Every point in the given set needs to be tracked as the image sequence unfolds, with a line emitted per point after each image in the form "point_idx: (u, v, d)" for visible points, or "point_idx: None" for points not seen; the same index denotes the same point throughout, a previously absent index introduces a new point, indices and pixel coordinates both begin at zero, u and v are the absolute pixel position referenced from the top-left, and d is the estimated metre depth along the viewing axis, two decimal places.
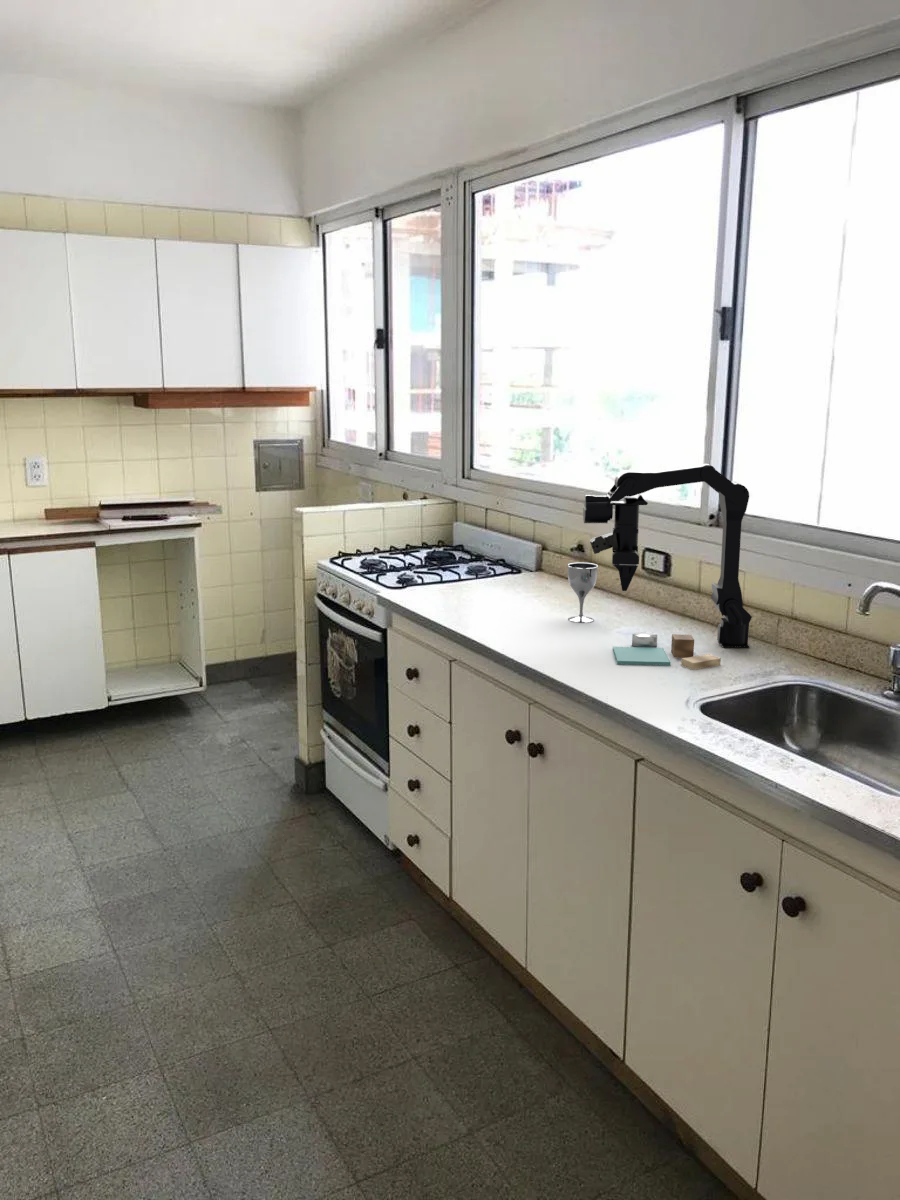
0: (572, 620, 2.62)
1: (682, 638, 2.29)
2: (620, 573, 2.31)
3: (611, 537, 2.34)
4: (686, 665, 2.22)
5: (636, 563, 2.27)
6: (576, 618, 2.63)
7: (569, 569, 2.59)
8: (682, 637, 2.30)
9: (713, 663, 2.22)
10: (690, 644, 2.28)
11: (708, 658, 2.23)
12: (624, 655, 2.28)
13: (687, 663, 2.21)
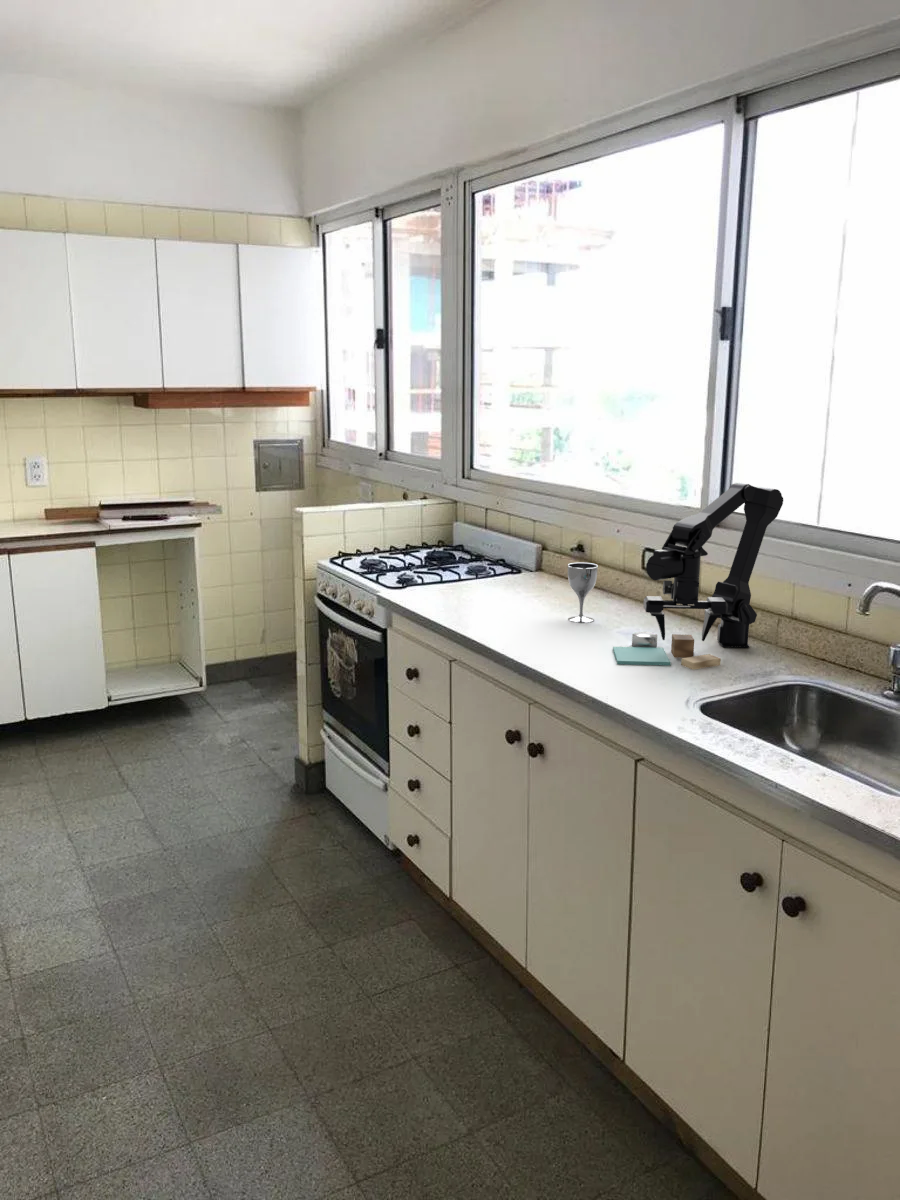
0: (572, 620, 2.62)
1: (682, 638, 2.29)
2: (657, 620, 2.31)
3: (674, 585, 2.31)
4: (686, 665, 2.22)
5: (646, 610, 2.27)
6: (576, 618, 2.63)
7: (569, 569, 2.59)
8: (682, 637, 2.30)
9: (713, 663, 2.22)
10: (690, 644, 2.28)
11: (708, 658, 2.23)
12: (624, 655, 2.28)
13: (687, 663, 2.21)
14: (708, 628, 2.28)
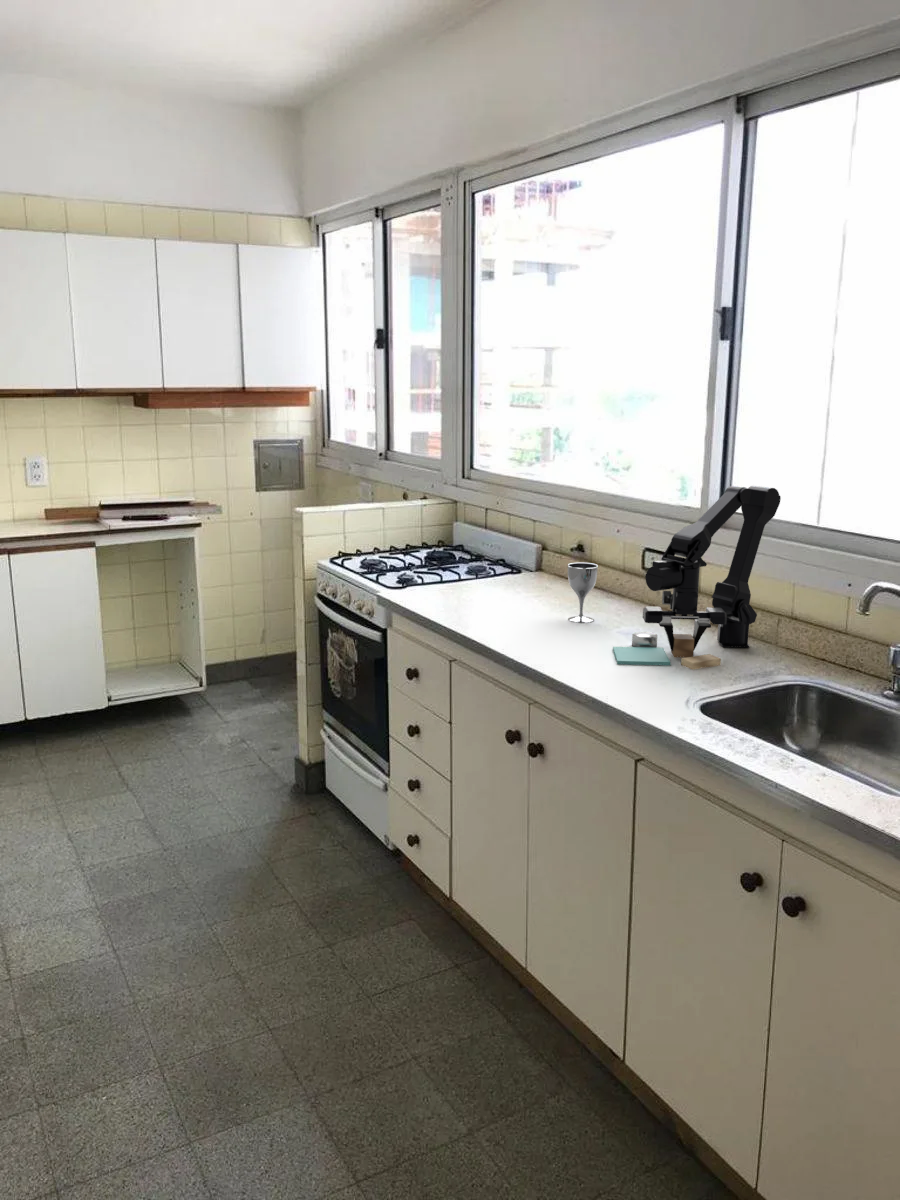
0: (572, 620, 2.62)
1: (682, 637, 2.29)
2: (665, 630, 2.31)
3: (673, 595, 2.32)
4: (686, 665, 2.22)
5: (645, 621, 2.28)
6: (576, 618, 2.63)
7: (569, 569, 2.59)
8: (682, 637, 2.30)
9: (713, 663, 2.22)
10: (690, 643, 2.28)
11: (708, 658, 2.23)
12: (624, 655, 2.28)
13: (687, 663, 2.21)
14: (698, 638, 2.28)
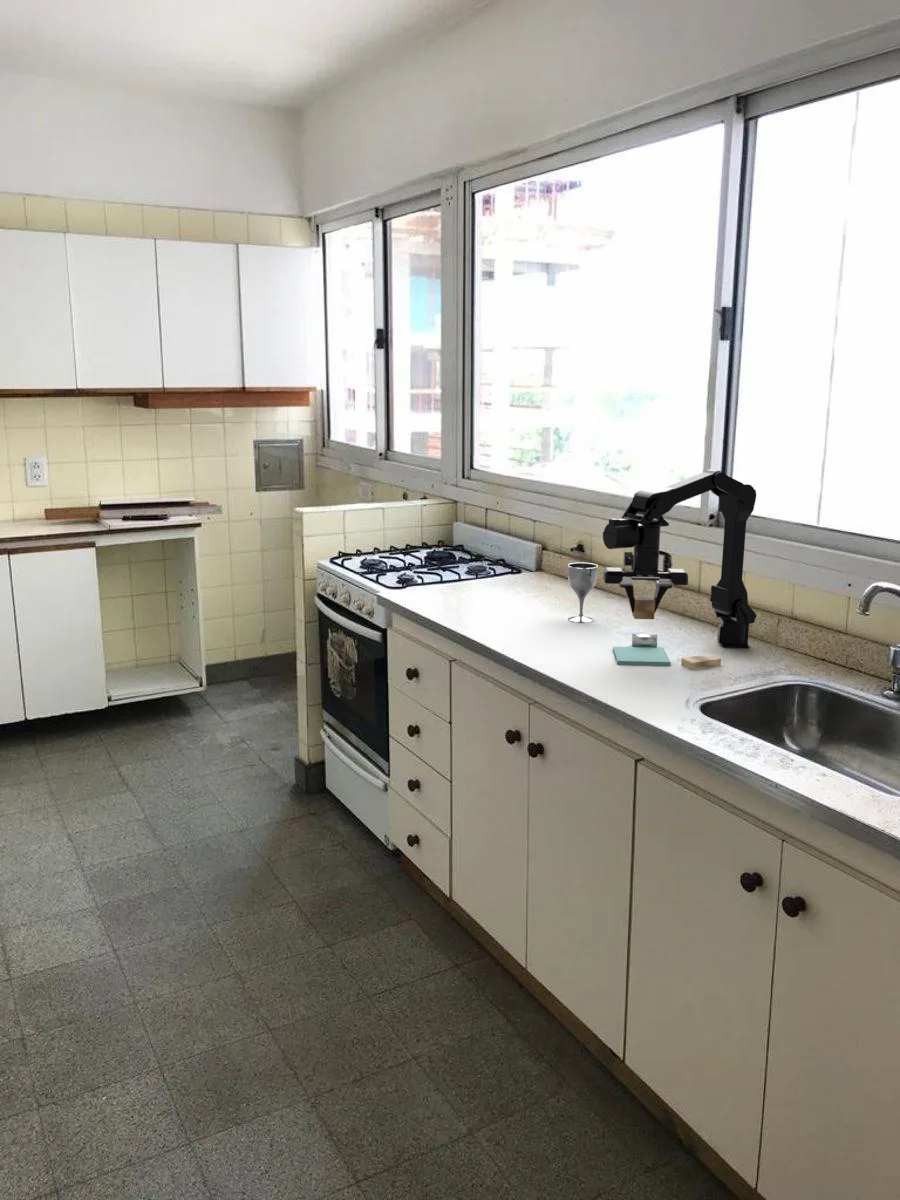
0: (572, 620, 2.62)
1: (643, 598, 2.25)
2: (626, 592, 2.27)
3: None
4: (685, 665, 2.22)
5: (605, 581, 2.23)
6: (576, 618, 2.63)
7: (569, 569, 2.59)
8: (643, 598, 2.25)
9: (713, 663, 2.22)
10: (651, 604, 2.24)
11: (708, 658, 2.23)
12: (624, 655, 2.28)
13: (687, 663, 2.22)
14: (659, 599, 2.24)
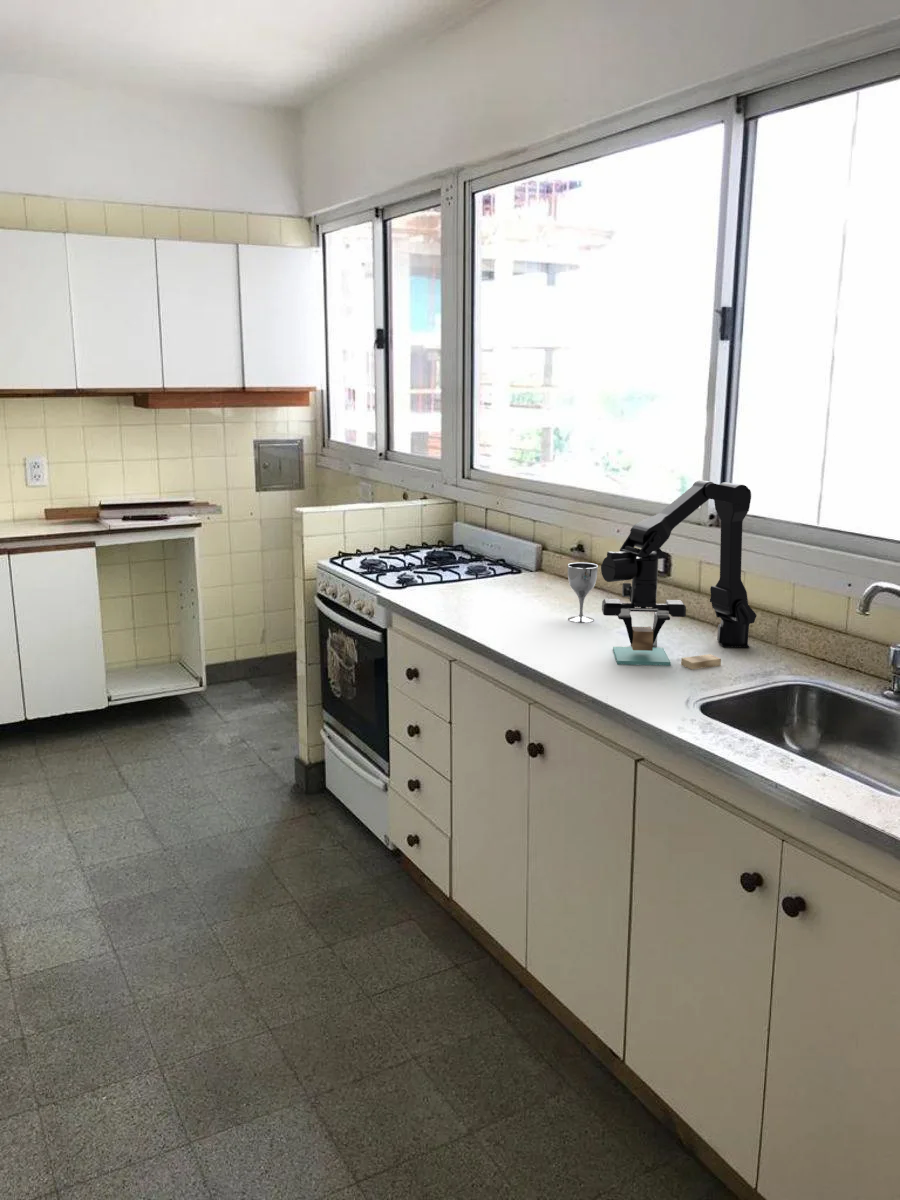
0: (572, 620, 2.62)
1: (641, 630, 2.27)
2: None
3: None
4: (685, 665, 2.22)
5: (603, 613, 2.25)
6: (576, 618, 2.63)
7: (569, 569, 2.59)
8: (641, 629, 2.27)
9: (713, 663, 2.22)
10: (649, 636, 2.26)
11: (708, 658, 2.23)
12: (624, 655, 2.28)
13: (686, 663, 2.22)
14: (657, 631, 2.26)
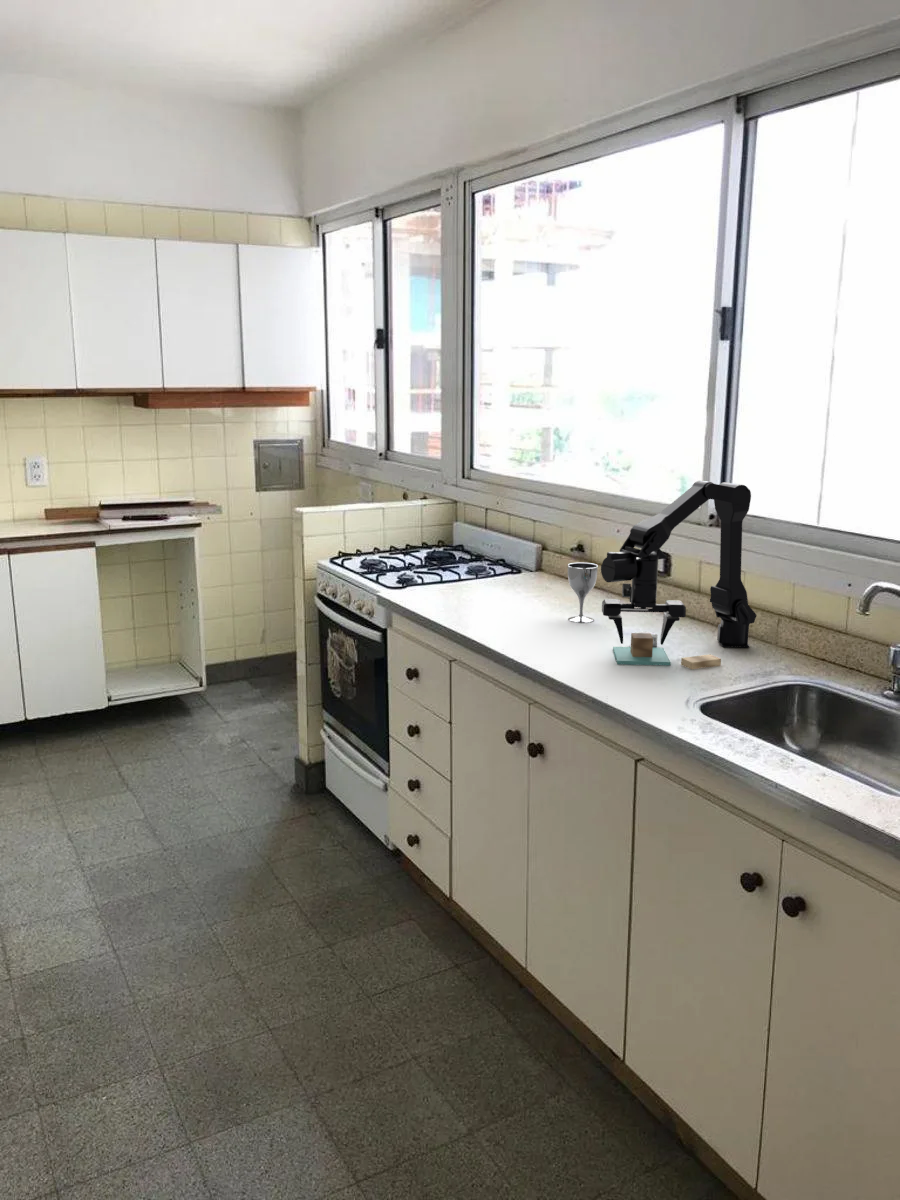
0: (572, 620, 2.62)
1: (641, 636, 2.27)
2: None
3: None
4: (685, 665, 2.22)
5: (603, 614, 2.25)
6: (576, 618, 2.63)
7: (569, 569, 2.59)
8: (641, 636, 2.27)
9: (713, 663, 2.22)
10: (649, 642, 2.26)
11: (708, 658, 2.23)
12: (624, 655, 2.28)
13: (686, 663, 2.22)
14: (666, 632, 2.26)
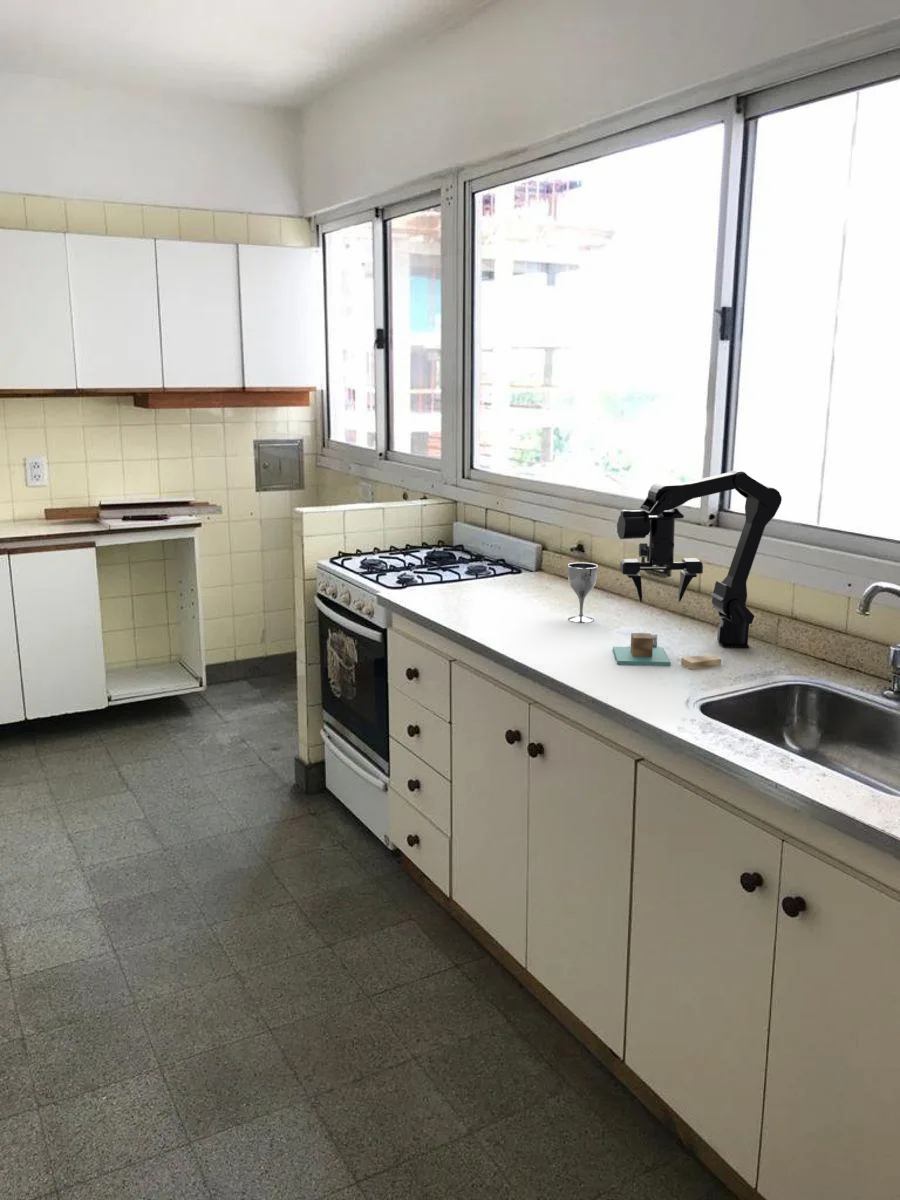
0: (572, 620, 2.62)
1: (641, 636, 2.27)
2: None
3: None
4: (685, 665, 2.22)
5: (623, 572, 2.31)
6: (576, 618, 2.63)
7: (569, 569, 2.59)
8: (641, 636, 2.27)
9: (713, 663, 2.22)
10: (649, 642, 2.26)
11: (708, 658, 2.23)
12: (624, 655, 2.28)
13: (686, 663, 2.22)
14: (684, 588, 2.32)
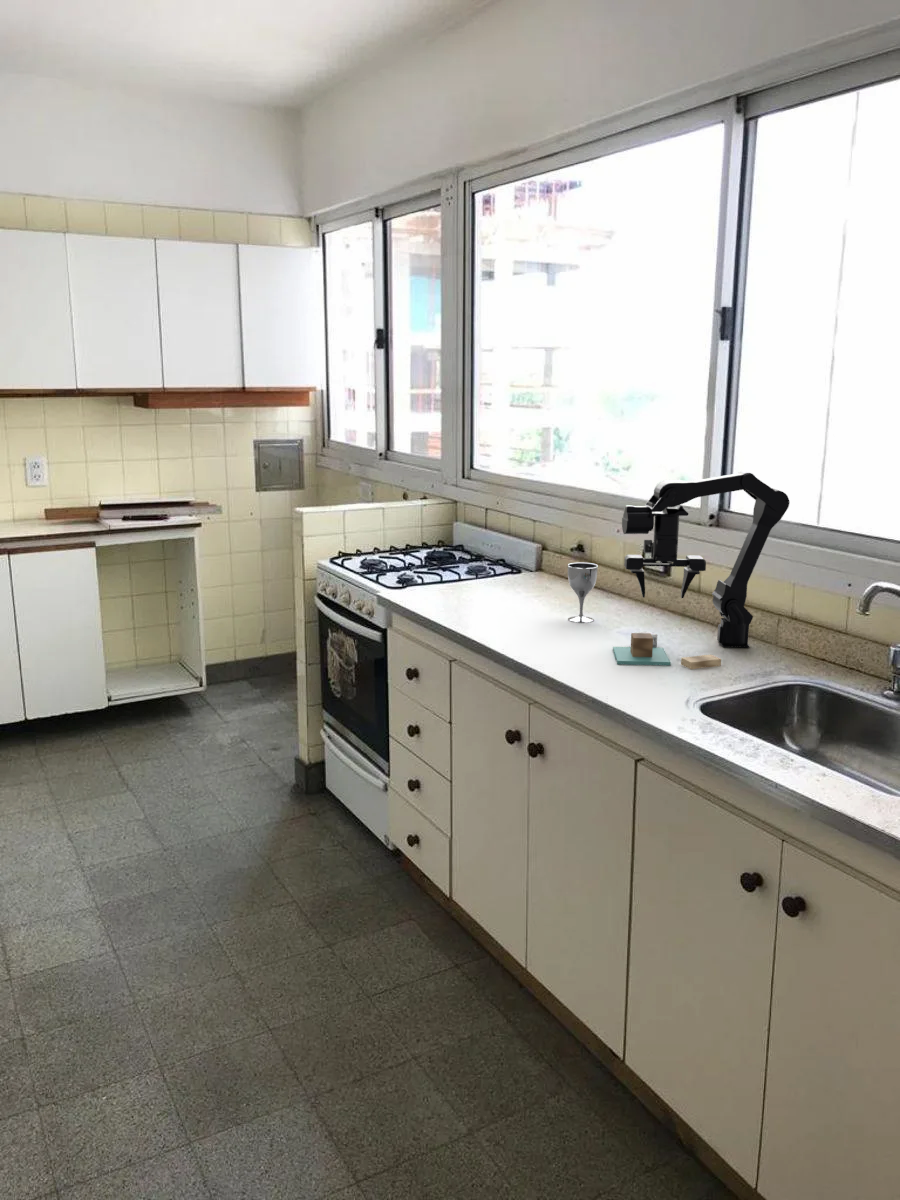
0: (572, 620, 2.62)
1: (641, 636, 2.27)
2: (637, 577, 2.37)
3: None
4: (685, 664, 2.22)
5: (626, 568, 2.33)
6: (576, 618, 2.63)
7: (569, 569, 2.59)
8: (641, 636, 2.27)
9: (713, 663, 2.22)
10: (649, 642, 2.26)
11: (708, 658, 2.23)
12: (624, 655, 2.28)
13: (686, 663, 2.22)
14: (687, 585, 2.34)
